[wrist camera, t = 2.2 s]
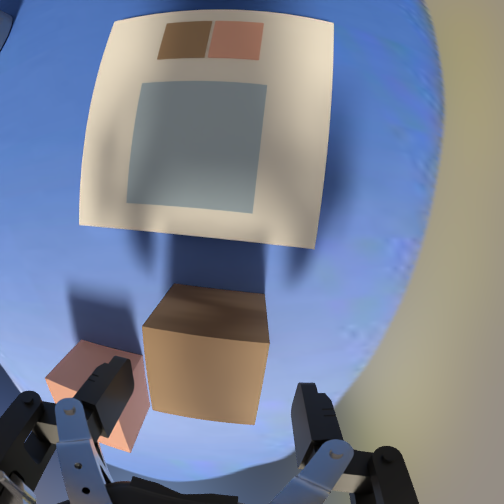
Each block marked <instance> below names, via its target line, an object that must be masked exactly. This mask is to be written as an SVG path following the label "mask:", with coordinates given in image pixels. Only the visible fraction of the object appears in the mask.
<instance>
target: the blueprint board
mask: <svg viewBox="0 0 504 504" xmlns="http://www.w3.org/2000/svg"><path fill="white" fill-rule="evenodd" d="M333 43H334V23H331V22H327V21H322V20H317V19H313V18H307V17H302V16H296V15H289V14H282V13H274V12H264V11H251V10H190V11H177V12H167V13H159V14H152V15H146V16H140V17H134V18H129V19H124V20H120V21H115V22H114V25H113V28H112V30H111V33H110V36H109V39H108V42H107V45H106V48H105V51H104V54H103V58H102V61H101V64H100V68H99V72H98V75H97V79H96V83H95V88H94V92H93V96H92V101H91V106H90V111H89V116H88V122H87V128H86V135H85V142H84V150H83V159H82V169H81V183H80V205H79V225H86V226H97V227H108V228H118V229H129V230H139V231H149V232H160V233H169V234H179V235H189V236H199V237H208V238H218V239H227V240H237V241H246V242H255V243H264V244H273V245H282V246H291V247H300V248H309V249H315V242H316V236H317V229H318V222H319V215H320V208H321V201H322V193H323V185H324V176H325V167H326V158H327V148H328V137H329V125H330V112H331V96H332V77H333Z"/></svg>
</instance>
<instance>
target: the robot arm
mask: <svg viewBox="0 0 504 504" xmlns="http://www.w3.org/2000/svg"><path fill="white" fill-rule="evenodd" d="M11 25H12V16H10V15H9V14H7V13H5V12H3V11H1V10H0V50H1V48H2V46H3V44H4V42H5V40H6V38H7V36H8V33H9V31H10V28H11ZM133 391H134V378H133V372H132V366H131V361H130V359H127V358H123V357H119V356H114V357H113V358H112V359H111V361H110V362H109V363H103V364H101V365H100V366H98V367H96V369H95V370H94V371H93V372H92V375H90V376H89V377H88V380H86V381H85V383H84V384H83V385H82V386H81V388H80V389H79V390H78V391H77V393H76V394H75V395H74V397H73V398H64V399H61V400H60V401H58V402H57V404H56V403H50V402H44V401H42V400H41V398H40V396H39V394H37V393H36V392H34V391H25V392H22V393H21V394H19V395H18V397H17V398H16V399H15V400H14V401H13V403H12V404H11V405H10V406H9V408H8V409H7V410H6V411H5V413H4V414H3V415H2V416H1V418H0V504H36V497H35V494H34V490H35V488H36V486H37V484H38V482H39V480H40V478H41V476H42V474H43V472H44V470H45V468H46V466H47V464H48V462H49V460H50V459H51V457H52V455H53V453H54V451H55V449H56V448H57V453H58V458H59V462H60V468H61V471H62V476H63V480H64V483H65V487H66V491H67V494H68V498H69V500H66V501H64V502H61V503H58V504H243V503H240V502H238V496H228V495H218V494H180V493H178V492H175V491H173V490H171V489H169V488H167V487H164V486H162V485H160V484H158V483H155V482H151V481H147V480H144V479H141V478H137V477H134V476H133V477H132V480H131V482H130V481H120V482H114V481H113V479H112V477H111V475H110V473H109V471H108V469H107V466H106V463H105V460H104V457H103V454H102V451H101V448H100V445H99V442H98V439H99V437H100V436H103V437H106V438H109V436H110V434H111V432H112V430H113V429H114V427H115V425H116V423H117V421H118V419H119V417H120V416H121V414H122V412H123V410H124V408H125V406H126V404H127V403H128V401H129V399H130V397H131V395H132V394H133ZM291 418H292V426H293V434H294V442H295V450H296V457H297V466H298V469H303V470H302V471H301V472H300V473H299V474H298V476H295V477H294V478H293V479H292V480H291V481H290V482H289V483H288V484H287V485H286V486H285V487H284V488H283V490H282V491H281V492H280V493H279V494H278V495H277V496H276V497H275V498H274V499H273V500H272V501H271V502H270V503H269V504H323V503H324V501H325V499H326V498H327V497H328V496H329V494H330V493H331V490H334V491H341V492H349V495H350V500H351V504H419V502H418V499H417V496H416V493H415V490H414V487H413V485H412V482H411V479H410V476H409V473H408V470H407V468H406V465H405V462H404V459H403V457H402V454H401V453H400V452H399V450H397V449H396V448H394V447H391V446H382V447H379V448H378V449H376V450H375V452H374V453H371V452H363V451H357V450H354V449H353V448H352V447H351V446H350V444H348V443H347V442H345V441H344V440H343V437H342V434H341V430H340V427H339V424H338V421H337V417H336V414H335V411H334V408H333V405H332V401H331V400H330V398H329V397H328V396H327V395H326V394H325V393H318V392H317V388H316V385H315V383H298V385H297V389H296V393H295V396H294V400H293V403H292V408H291ZM31 431H32V432H31ZM30 432H31V434H30ZM29 434H30V435H29ZM28 435H29V437H28ZM27 437H28V439H27V440H26V438H27ZM25 440H26V442H25ZM24 442H25V443H24Z"/></svg>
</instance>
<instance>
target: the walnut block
mask: <svg viewBox="0 0 504 504" xmlns="http://www.w3.org/2000/svg"><path fill="white" fill-rule="evenodd" d="M142 331H143V342H144V352H145V361H146V369H147V376H148V383H149V390H150V396H151V402H152V408H153V410H155V411H159V412H164V413H169V414H174V415H179V416H184V417H190V418H196V419H203V420H210V421H218V422H226V423H236V424H249V425H255V420H256V415H257V410H258V405H259V399H260V394H261V389H262V384H263V378H264V373H265V367H266V362H267V356H268V350H269V344H270V342H269V332H268V322H267V312H266V302H265V294H260V293H250V292H241V291H232V290H223V289H214V288H206V287H198V286H190V285H182V284H175V283H174V284H173V286H172V287H171V288H170V290H169V291H168V292H167V294H166V295H165V296H164V297H163V299H162V300H161V301H160V303H159V304H158V305H157V307H156V308H155V309H154V311H153V312H152V314H151V315H150V316H149V318H148V319H147V320H146V322H145V323H144V324H143V326H142Z"/></svg>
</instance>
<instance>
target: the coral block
mask: <svg viewBox="0 0 504 504" xmlns="http://www.w3.org/2000/svg"><path fill="white" fill-rule="evenodd" d="M114 356H119V357H123V358H127V359H130V361H131V366H132V372H133V378H134V391H133V394H132V395H131V397H130V399H129V401H128V403H127V404H126V406H125V408H124V410H123V412H122V414H121V416H120V417H119V419H118V421H117V423H116V425H115V427H114V429H113V430H112V432H111V434H110V436H109V438H106V437H103V436H100V437H99V439H98V442H100V443H103V444H105V445H108V446H111V447H114V448H117V449H120V450H123V451H126V452H130V453H131V451H132V448H133V446H134V443H135V441H136V438H137V436H138V433H139V431H140V428H141V426H142V424H143V421H144V419H145V416H146V414H147V412H148V409H149V407H150V402H149V397H148V391H147V384H146V378H145V371H144V363H143V355H139V354H134V353H130V352H126V351H122V350H117V349H114V348H110V347H106V346H102V345H99V344H95V343H92V342H88V341H85V340H80V342H79V343H78V344H77V345H76V346H75V347H74V348H73V349H72V350H71V351H70V352H69V353H68V354H67V355H66V356H65V357H64V358H63V359H62V360H61V361H60V362H59V363H58V364H57V365H56V367H55V368H54V369H53V370H52V371H51V372H50V373H49V374H48V375H47V376H46V377H45V379H46V382H47V384H48V387H49V389H50V392H51V394H52V397H53V399H54V401H55V403H56V404H57V402H58V401H60V400H61V399H64V398H73V397H74V395H75V394H76V393H77V391H78V390H79V389H80V388H81V386H82V385H83V384H84V383H85V381H86V380H88V377H89V376H90V375H92V372H93V371H94V370H95V369H96V367H98V366H100V365H101V364H103V363H109V362H110V361H111V359H112V358H113V357H114Z"/></svg>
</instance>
